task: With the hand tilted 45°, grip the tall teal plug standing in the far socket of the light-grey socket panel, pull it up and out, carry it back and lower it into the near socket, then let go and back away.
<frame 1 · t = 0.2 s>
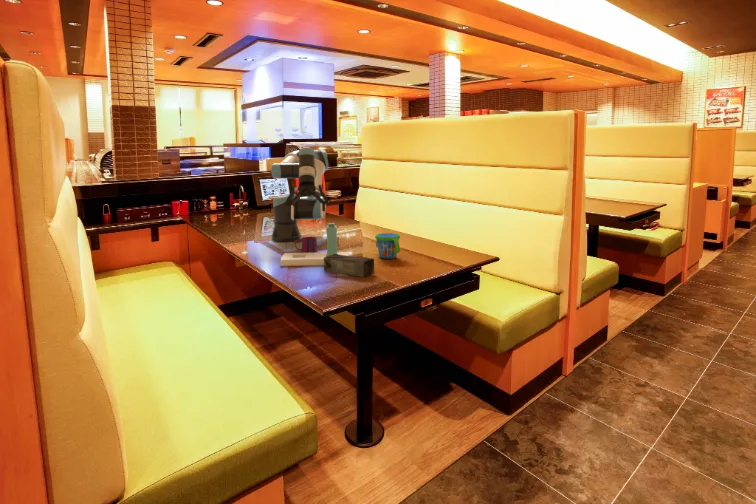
hand: (307, 218, 221), 16 cm above the table, tool tilted 35°, fingers open, 13 cm apart
sippy cup: (387, 258, 211), on the table
cup: (306, 252, 222), on the table
beverage carton: (348, 273, 188), on the table
plug: (332, 261, 203), resting on socket panel
socket panel: (316, 262, 203), on the table
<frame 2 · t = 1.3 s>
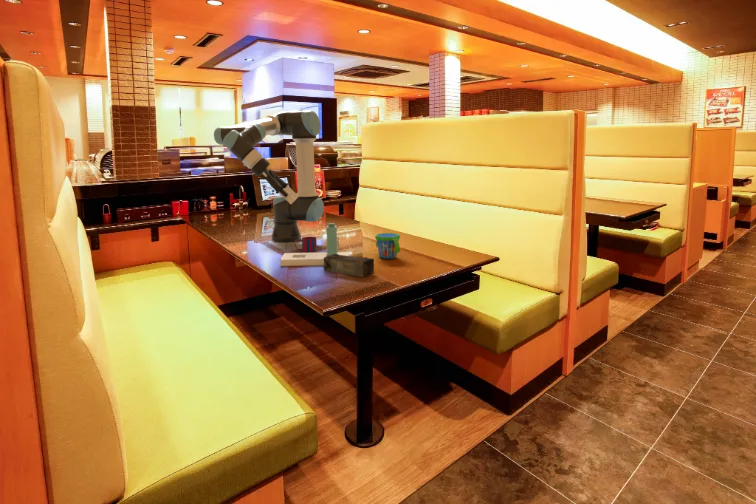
hand: (295, 200, 198), 26 cm above the table, tool tilted 45°, fingers open, 13 cm apart
nothing on the table moved.
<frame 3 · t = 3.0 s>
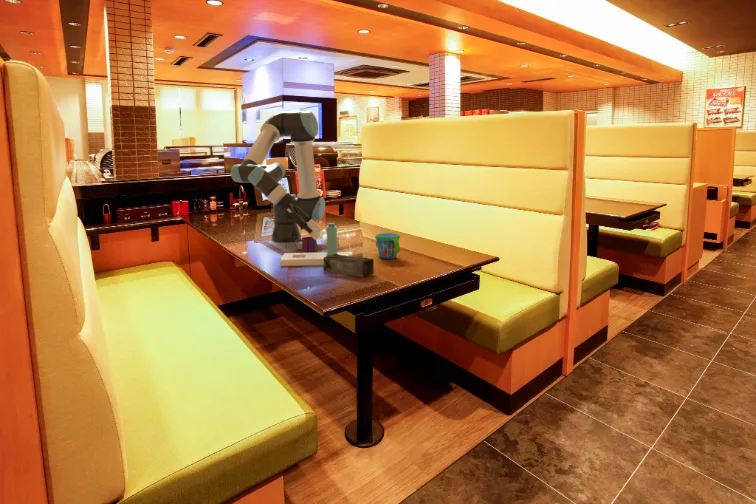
hand: (319, 234, 199), 12 cm above the table, tool tilted 45°, fingers open, 13 cm apart
nothing on the table moved.
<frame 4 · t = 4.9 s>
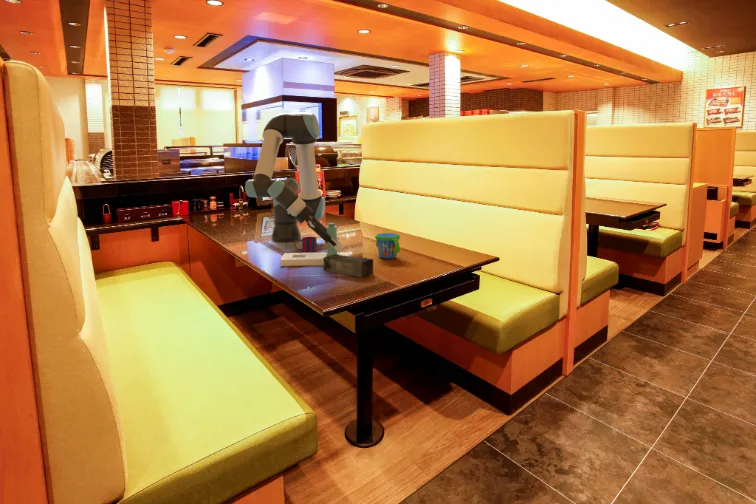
hand: (341, 249, 202), 6 cm above the table, tool tilted 45°, fingers closed on plug, 4 cm apart
plug: (332, 261, 203), point 1 cm above the table, touching gripper, socket panel
everything else where it was.
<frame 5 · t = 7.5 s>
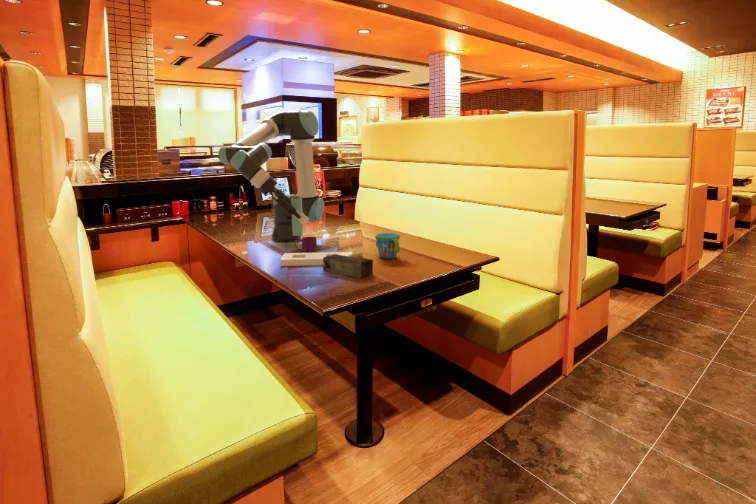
hand: (306, 222, 199), 17 cm above the table, tool tilted 45°, fingers closed on plug, 4 cm apart
plug: (297, 234, 200), point 12 cm above the table, touching gripper
everything else where it was.
when the fingers open (6 cm above the table, at t = 10.1 s): plug stays where it is, resting on socket panel.
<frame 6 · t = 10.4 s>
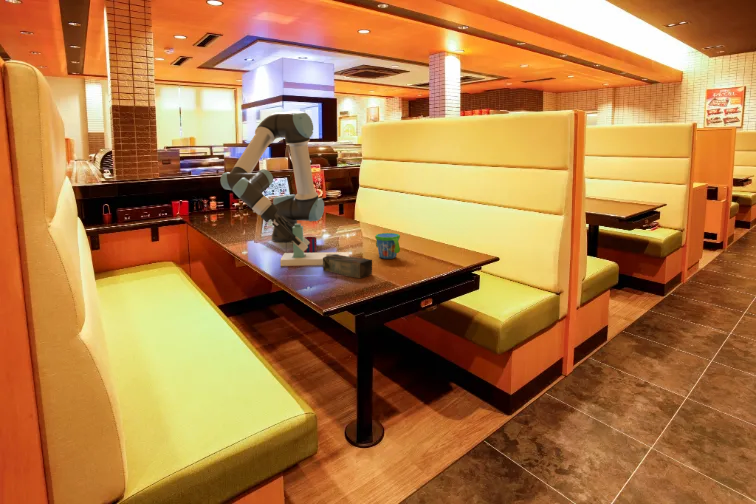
hand: (306, 247, 201), 7 cm above the table, tool tilted 45°, fingers open, 8 cm apart
plug: (299, 261, 203), resting on socket panel
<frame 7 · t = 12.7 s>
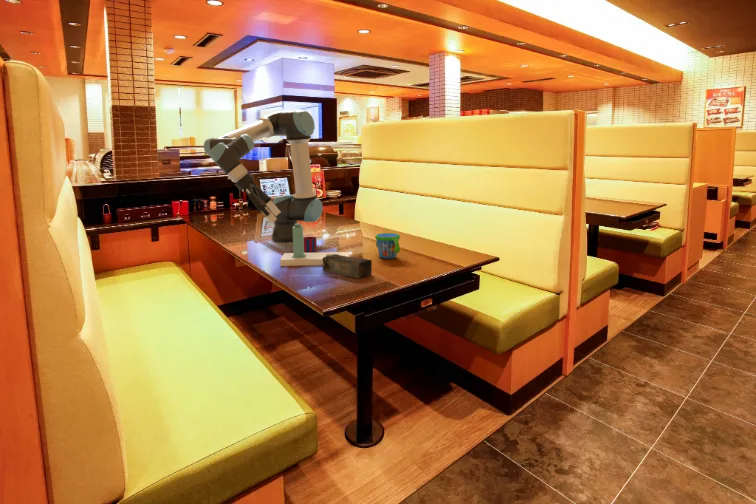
hand: (276, 217, 200), 19 cm above the table, tool tilted 40°, fingers open, 13 cm apart
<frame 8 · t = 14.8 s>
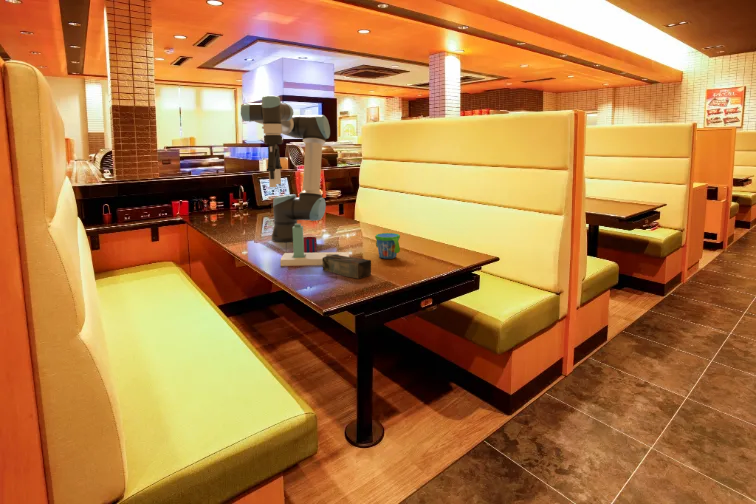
hand: (275, 185, 206), 32 cm above the table, tool pointing down, fingers open, 13 cm apart
at the end: plug 0.0 cm from the target spot, point 0.5 cm above the table; plug tilted 0°; the gripper is holding nothing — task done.
